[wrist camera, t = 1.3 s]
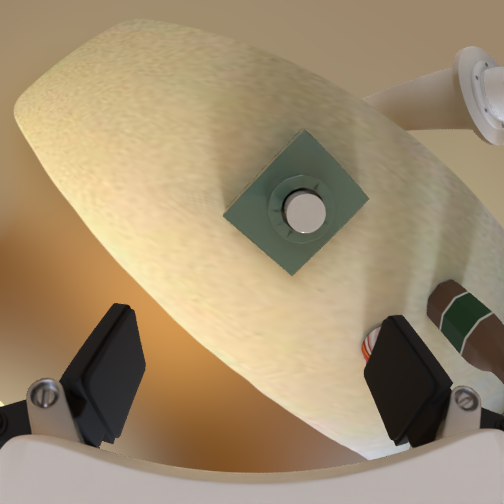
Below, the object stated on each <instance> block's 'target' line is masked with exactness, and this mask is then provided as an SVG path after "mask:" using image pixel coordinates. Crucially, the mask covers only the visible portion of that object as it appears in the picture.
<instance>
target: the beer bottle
mask: <svg viewBox="0 0 504 504" xmlns="http://www.w3.org/2000/svg"><path fill="white" fill-rule="evenodd" d="M427 315H428V317H429V318H430V319H431V321H432V322H433V323H434V324H435V325H436V326H437V327H438V329H439V330H440V331H441V332H442V333H443V334H444V336H445V337H446V338H447V339H448V340H449V341H450V343H451V344H452V345H453V346H454V347H455V349H456V350H457V351H458V352H459V353H460V355H461V356H462V357H463V358H464V359H465V360H466V361H467V362H468V363H469V364H471V365H473V366H474V367H476V368H478V369H480V370H482V371H490V372H492V373H494V374H495V375H496V376H497V377H498V378H499V379H500V380H501V381H502V383H503V384H504V325H503V323H502V322H501V321H500V320H499V319H498V317H497V316H496V315H495V314H494V313H493V312H492V311H491V310H489V309H488V308H487V307H486V306H485V305H484V304H483V303H481V302H480V301H479V300H478V299H477V298H475V297H474V296H473V295H472V294H471V293H469V292H468V291H467V290H466V289H465V288H463V287H462V286H461V285H460V284H458V283H457V282H455V281H454V280H449V281H447V282H444V283H442V284H439V285H438V286H437V288H436V289H435V291H434V292H433V293H432V295H431V296H430V297H429V299H428V307H427Z"/></svg>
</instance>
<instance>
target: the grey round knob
mask: <svg viewBox="0 0 504 504" xmlns="http://www.w3.org/2000/svg"><path fill="white" fill-rule="evenodd" d="M284 215H285V217H286V219H287V221H288V223H289V224H290V226H291V227H292V228H293V229H294V230H296V231H298V232H301V233H310V232H313V231H315V230H317V229H318V228H320V226H321V225H322V224H323V222H324V220H325V217H326V209H325V206H324V203H323V202H322V201H321V199H320V198H318V197H317V196H315V195H314V194H312V193H311V192H308V191H297V192H295V193H293V194H291V195H290V196H289V197H288V198H287V200H286V202H285V205H284Z"/></svg>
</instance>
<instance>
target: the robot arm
mask: <svg viewBox="0 0 504 504" xmlns="http://www.w3.org/2000/svg"><path fill="white" fill-rule="evenodd" d="M471 86H472V91H473V95H474V98H475V101H476V103H477V106H478V108H479V110H480V112H481V114H482V115H483V117H484V118H485V120H486V121H487V122H488V124H489V125H491V126H492V127H493V128H495V129H498V130H504V66H500V67H495V66H494V65H492V64H491V63H489V62H487V61H483V60H482V61H477V62H476V63H474V65H473V66H472V69H471ZM145 367H146V363H145V359H144V354H143V350H142V345H141V342H140V336H139V331H138V326H137V321H136V316H135V311H134V310H133V309H131V308H130V306H129V305H125V304H118V303H114V304H113V305H112V306H111V308H110V309H109V310H108V312H107V313H106V314H105V316H104V317H103V318H102V320H101V321H100V322H99V324H98V325H97V326H96V328H95V329H94V330H93V332H92V333H91V335H90V336H89V337H88V339H87V340H86V341H85V343H84V344H83V346H82V347H81V349H80V350H79V351H78V353H77V355H76V356H75V357H74V359H73V360H72V362H71V363H70V365H69V366H68V368H67V369H66V371H65V372H64V374H63V375H62V378H61V379H60V381H59V382H58V381H57V380H55V379H52V378H42V379H40V380H37V381H35V382H34V383H33V384H32V385H31V386H30V387H29V388H28V391H27V395H26V400H23V401H20V402H16V403H13V404H9V405H6V406H2V407H0V504H504V416H503V415H500V414H498V413H495V412H492V411H490V410H487V409H484V408H482V407H481V399H480V397H479V395H478V394H477V392H476V391H475V390H473V389H472V388H470V387H468V386H457V387H455V388H454V389H453V390H451V389H450V387H451V386H452V384H453V382H452V380H451V379H450V378H449V376H448V375H447V373H446V372H445V370H444V369H443V368H442V366H441V365H440V363H439V362H438V361H437V359H436V358H435V357H434V355H433V354H432V352H431V351H430V350H429V348H428V347H427V346H426V344H425V343H424V342H423V340H422V339H421V338H420V337H419V335H418V334H417V333H416V331H415V330H414V329H413V328H412V326H411V325H410V324H409V322H408V321H407V320H406V319H405V317H404V316H402V315H392V316H388V317H387V319H386V320H384V321H383V323H382V326H381V328H380V331H379V334H378V337H377V339H376V342H375V344H374V347H373V350H372V352H371V355H370V357H369V359H368V362H367V364H366V367H365V369H364V378H365V380H366V382H367V385H368V387H369V389H370V392H371V394H372V396H373V399H374V401H375V403H376V406H377V408H378V411H379V413H380V415H381V418H382V420H383V423H384V425H385V428H386V430H387V433H388V435H389V438H390V439H391V440H394V443H395V445H396V446H399V445H402V444H406V443H408V442H409V443H410V445H411V446H410V448H409V450H407V451H403V452H400V453H397V454H393V455H390V456H386V457H382V458H378V459H374V460H369V461H365V462H360V463H355V464H350V465H344V466H339V467H332V468H325V469H317V470H308V471H296V472H282V473H281V472H280V473H234V472H218V471H217V472H216V471H205V470H197V469H189V468H181V467H175V466H169V465H163V464H158V463H153V462H149V461H144V460H139V459H135V458H131V457H127V456H123V455H119V454H116V453H112V452H108V451H105V450H102V449H100V447H99V446H100V445H101V442H102V441H104V442H108V443H111V444H113V443H114V440H115V438H119V437H120V435H121V433H122V429H123V427H124V424H125V421H126V419H127V416H128V413H129V410H130V408H131V405H132V402H133V400H134V397H135V395H136V392H137V389H138V387H139V384H140V382H141V379H142V377H143V374H144V372H145Z"/></svg>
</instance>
